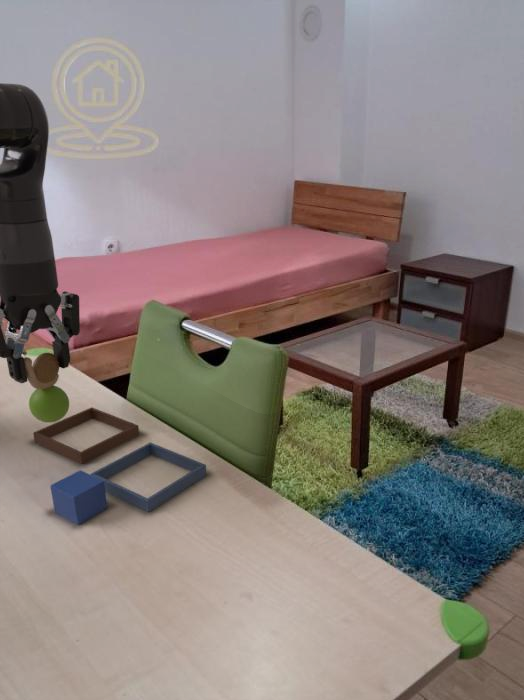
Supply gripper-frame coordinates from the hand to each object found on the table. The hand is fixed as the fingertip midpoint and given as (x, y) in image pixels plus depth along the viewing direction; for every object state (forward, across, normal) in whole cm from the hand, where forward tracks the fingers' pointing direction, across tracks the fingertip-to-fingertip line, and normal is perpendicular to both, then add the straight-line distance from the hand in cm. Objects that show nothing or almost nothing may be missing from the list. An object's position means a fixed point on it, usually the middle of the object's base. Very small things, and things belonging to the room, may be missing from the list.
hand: (41, 373), depth 89 cm
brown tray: (+17, -10, -6) cm, 21 cm away
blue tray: (+17, -7, +12) cm, 22 cm away
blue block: (+17, +4, +10) cm, 21 cm away
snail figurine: (+8, 0, 0) cm, 8 cm away
